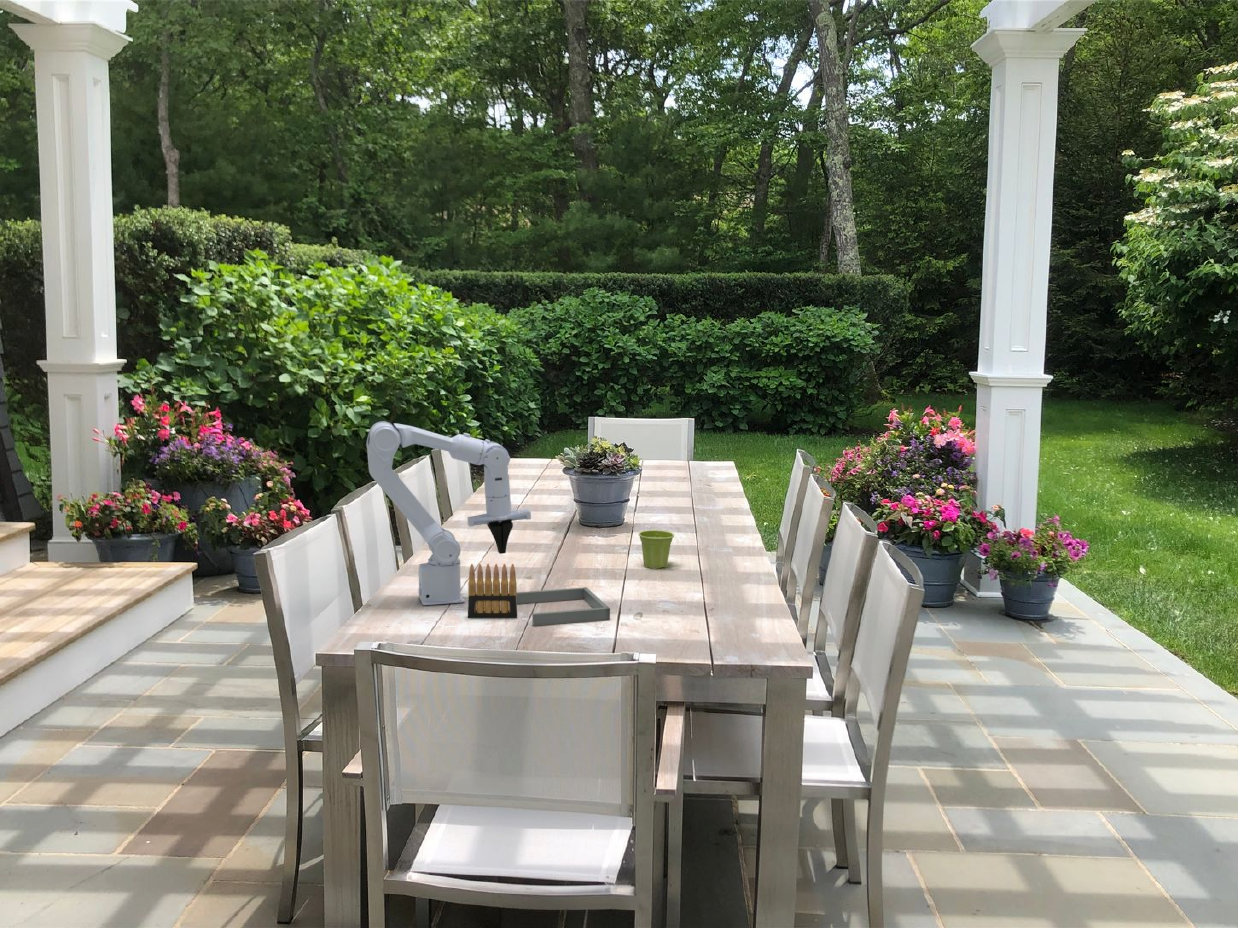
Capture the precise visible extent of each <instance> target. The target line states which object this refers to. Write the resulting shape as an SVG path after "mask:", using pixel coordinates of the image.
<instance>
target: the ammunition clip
mask: <svg viewBox="0 0 1238 928" xmlns="http://www.w3.org/2000/svg"><path fill="white" fill-rule="evenodd" d="M477 566H478V567H477V573H476V571H475V567H474V564H473V563H471V564H470V567H469V571H468V572H469V573H468V575H469V578H468V583H467V585H468V588H467V589H468V590H467V592H468V595H467V597H468V603H467V619H518V604H517V592H518V591H517V589H518V588H517V585H518V584H517V575H516V568H515V564H514V563H511V566H510V570H509V571H510V572H509V581H508V567H507V565H506V564H505V563H503V565H502V568H501V580H500V571H499V566H498V563H495V565H494V568H493V576H492V572H491V566H490V564H489V563H487V564H486V568H485V574H484V572H483V566H482V563H479V564H478V565H477ZM476 574H477V575H476ZM484 575H485V577H484ZM476 576H477V577H476ZM492 579H493V580H492Z"/></svg>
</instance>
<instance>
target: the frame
mask: <svg viewBox="0 0 1238 928" xmlns="http://www.w3.org/2000/svg"><path fill="white" fill-rule="evenodd" d="M577 600H584V601H585V602H586V603H587V604H588V605H589V606H590V605H591V606H592V607H591V606H590V607H591V608H584V609H583V608H581V609H569V610H560V611H559V610H558V611H557V610H556V611H546V612H545V611H544V612H533V613H532V617H531V618H532V621H531V622H532V626H533V627H537V626H538V627H539V626H550V625H561V624H562V625H563V624H572V623H573V624H575V623H585V622H587V623H588V622H597V621H599V620H600V621H606V620H605V619H610V620H611V608H610V607H609V606H608V605H607V604H606V603H605V602H603V600H602V599H600V598H599V597H598V596H597V595H596V594H595V593H594V592H593V591H591V589H590V588H589V587H587V586H585V587H584V586H583V587H574V588H571V587H570V588H557V589H542V590H531V591H517V605H524V604H537V603H550V602H564V601H577ZM600 621H599V622H600Z"/></svg>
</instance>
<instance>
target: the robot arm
mask: <svg viewBox="0 0 1238 928" xmlns="http://www.w3.org/2000/svg"><path fill="white" fill-rule="evenodd" d="M366 438H367V439H366V449H367V450H366V451H367V460H368V461H367V462H368V472H369V475H370V476H371V478H372V479H373V480H374V481H375V483H377V485H378V486H379V487H380V489H381V490H382V491H383V492H384V493H385V494H386V495H387V496H388V498H389V499H390V501H392V502H393V504H394V505H395V506H396V507H397V509H399V511H400V512H401V514H403V515H404V517H405V518H406V519H407V520H408V521H409V522H410V524H411V525H412V527H413V528H415V530H416V531H417V532H418V533H419V534H420V536H421V537H422V538H423V540H424V542H426V544H427V546H428V548H429V550H430V552H431V553H432V554H431V555H430V557H429V558H428V559H427V560H428V561H427V562H424V563H420V564H419V565H418V599H419V600H420V603H421V604H422V606H432V605H433V606H434V605H443V604H457V603H465V601H466V600H465V599H464V597H463V596H462V594H461V593H462V591H461V558H459V557H460V556H461V545H460V544H459V542H458V541H457V539H456V538H455V535H454V533H452V532H451V531H450V530H449V529H445V528H444V527H442V526H441V524H439V523H438V521H437V520H436V519H435V518H434V517H433V516H432V515H431V514H430V512H429V511H428V510H427V508H425V506H424V505H423V504H422V503H421V501H419V499H418V498H417V496H415V495H414V493H413V492H412V491H411V489H409V487H408V486H407V485H406V484H405V483H404V481H403V480H402V479H401V477H400V476H399V475H398V474H397V473H396V472H395V470H393V463H394V456H395V454H396V453H397V450H398V449H399V447H400V446H401V448H407V447H409V446H412V445H418V446H423V447H427V448H431V449H436V450H441V451H445V452H448V453H449V455H450V457H451V458H452V459H453V460H456V461H457V460H458V461H460V462H461V461H462V462H465V463H469V464H473V465H477V466H481V465H483V471H484V473H483V474H484V476H483V483H484V495H485V497H484V498H485V509H486V510H485V511H486V513H482V514H477V515H472V516H467V525H468V527H475V526H481V525H486V526H487V528H488V529H489V531H490V533H491V535H492V537H493V539H494V541H495V544H496V548H497V552H498V554H500V555H501V554H506V553H507V544H508V540H509V537H510V534H511V532H512V529H513V527H514V525H513V524H514V523H513V522H514V521H520V520H521V521H522V520H527V521H528V520H531V519H532V512H531V510H530V509H523V510H522V509H521V510H512V502H511V489H510V488H511V485H510V476H509V475H510V474H509V467H508V466H509V464H510V462H511V457H510V455H509V452H508V450H507V449H506V448H505V447H504V446H502V445H501V444H499V443H497V442H495V441H491V440H490V439H488V438H486V439H485V440H482V439H479V438H476V437H472V436H471V434H470V433H467V432H463V434H461V433H458V434H456V435H454V436H452V437H449V436H446V435H443V434H439V433H436V432H432V431H430V430H426V429H423V428H420V427H416V426H412V425H408V424H401V423H396V422H395V423H393V424H392V423H390V422H388V421H378V422H376V423H374V424H373V425H372V426H371V427H370V429H369V431H368V434H367V437H366Z"/></svg>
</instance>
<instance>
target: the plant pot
mask: <svg viewBox="0 0 1238 928" xmlns="http://www.w3.org/2000/svg"><path fill="white" fill-rule="evenodd" d="M638 536H639V539H640V542H641V550H642V562H643V566H644V567H647V568H648V569H655V570H656V569H658V570H659V569H661V568H667V566H668V562H669V555H670V549H671V544H672V542H673V538H674V537H675V534H674V533H673V532H671V531H666V530H658V529H657V530H656V529H653V530H652V529H651V530H650V529H649V530H643V531H640V532H638Z"/></svg>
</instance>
